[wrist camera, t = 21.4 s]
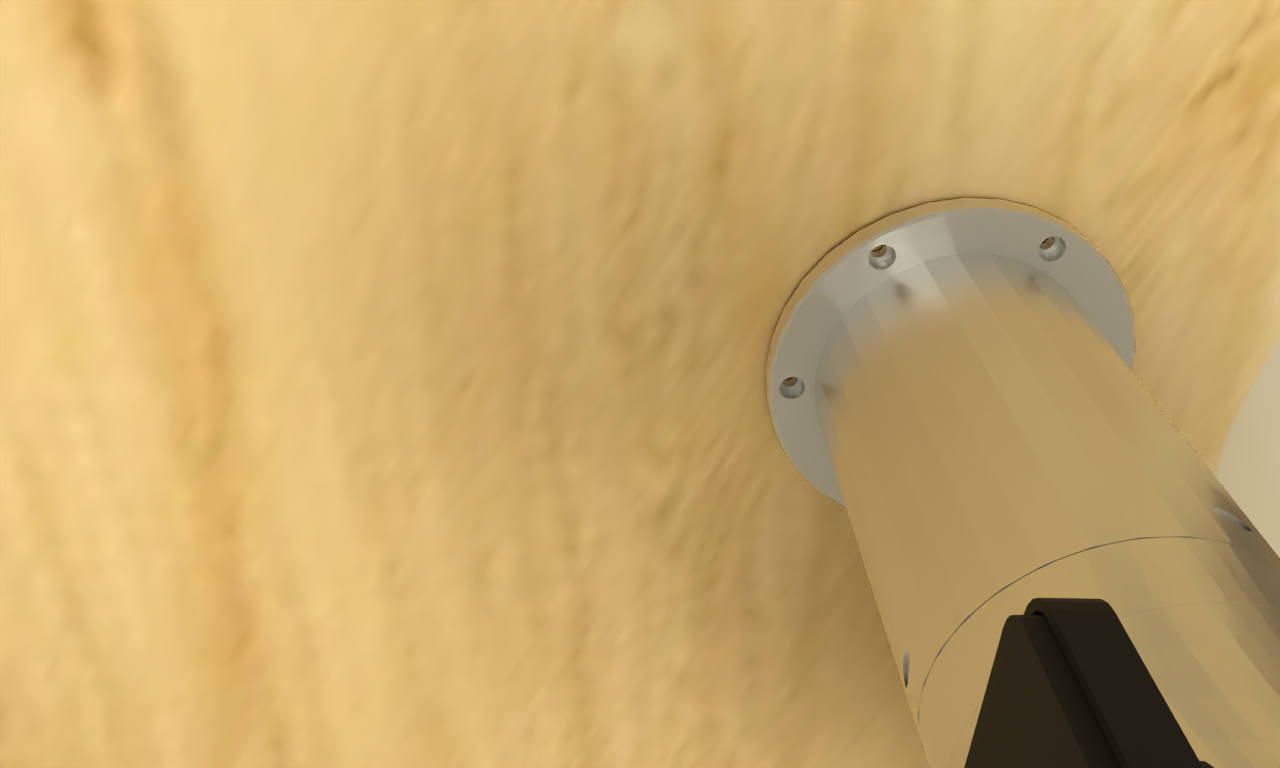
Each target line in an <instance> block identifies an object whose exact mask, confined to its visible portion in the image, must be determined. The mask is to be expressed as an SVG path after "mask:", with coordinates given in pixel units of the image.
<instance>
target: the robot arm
mask: <svg viewBox="0 0 1280 768" xmlns="http://www.w3.org/2000/svg"><path fill="white" fill-rule="evenodd" d="M1047 238H1049V239H1048V240H1047V241H1046V242H1045V243H1042V242H1043V241H1044V240H1045V239H1047ZM1041 243H1042V244H1041ZM880 245H884V246H883V248H882V249H881V250H880V251H877V252H872V250H873V249H874V248H875V247H877V246H880ZM1135 348H1136V344H1135V328H1134V316H1133V313H1132V309H1131V306H1130V303H1129V300H1128V296H1127V293H1126V290H1125V288H1124V286H1123V284H1122V283H1121V281H1120V279H1119V278H1118V276H1117V274H1116V273H1115V271H1114V269H1113V268H1112V266H1111V264H1110V263H1109V262H1108V261H1107V259H1106V258H1105V257H1104V256H1103V255H1102V254H1101V253H1100V252H1099V251H1098V249H1097V248H1096V247H1095V246H1094V245H1093V244H1092V243H1091V242H1090V241H1089V240H1088V239H1087V238H1086V237H1084V236H1083V235H1082V234H1080V233H1079V232H1078V231H1077V230H1075V229H1074V228H1073V227H1071V226H1070V225H1069V224H1068V223H1066V222H1065V221H1063V220H1061V219H1059V218H1057V217H1054V216H1052V215H1050V214H1048V213H1046V212H1044V211H1042V210H1040V209H1037V208H1035V207H1031V206H1027V205H1023V204H1019V203H1015V202H1010V201H1006V200H1002V199H982V198H960V199H952V200H945V201H938V202H930V203H926V204H922V205H919V206H916V207H913V208H910V209H907V210H903V211H900V212H897V213H894V214H891V215H889V216H887V217H885V218H883V219H881V220H879V221H877V222H875V223H873V224H871V225H869V226H868V227H866V228H864V229H862V230H860V231H858V232H856V233H855V234H854V235H852V236H851V237H850V238H848V239H847V240H846V241H844V242H843V243H841V244H840V245H839V246H837V247H836V248H835V249H833V250H832V251H831V252H829V253H828V254H827V255H826V256H825V257H824V258H823V259H822V260H821V261H820V262H819V263H818V264H817V265H816V266H815V267H814V269H813V270H812V271H811V272H810V273H809V274H808V275H807V276H806V277H805V278H804V279H803V280H802V282H801V283H800V285H799V286H798V288H797V289H796V291H795V292H794V294H793V295H792V297H791V298H790V300H789V301H788V303H787V304H786V306H785V307H784V309H783V312H782V314H781V317H780V319H779V321H778V324H777V326H776V329H775V331H774V334H773V336H772V338H771V344H770V349H769V354H768V360H767V365H766V392H767V401H768V405H769V409H770V414H771V418H772V423H773V426H774V429H775V431H776V434H777V436H778V439H779V441H780V444H781V446H782V449H783V451H784V452H785V454H786V455H787V457H788V458H789V460H790V461H791V463H792V464H793V465H794V467H795V468H796V470H797V471H798V473H799V474H800V475H801V476H802V477H804V478H805V479H806V480H807V481H808V482H809V483H810V484H811V485H812V486H813V487H814V488H815V489H816V490H818V491H819V492H820V493H822V494H823V495H825V496H827V497H828V498H830V499H831V500H833V501H835V502H836V503H838V504H840V505H841V506H843V507H845V508H846V509H847V512H848V516H849V519H850V522H851V525H852V528H853V531H854V534H855V538H856V541H857V544H858V547H859V550H860V553H861V556H862V560H863V563H864V566H865V569H866V572H867V575H868V578H869V581H870V585H871V588H872V591H873V594H874V597H875V600H876V603H877V607H878V610H879V613H880V616H881V619H882V622H883V625H884V629H885V632H886V635H887V638H888V641H889V644H890V647H891V651H892V654H893V657H894V660H895V663H896V666H897V669H898V673H899V676H900V679H901V682H902V685H903V688H904V691H905V695H906V698H907V701H908V704H909V707H910V710H911V713H912V716H913V720H914V723H915V726H916V729H917V732H918V735H919V738H920V742H921V745H922V747H923V749H924V751H925V754H926V757H927V761H928V764H929V767H930V768H1280V558H1279V557H1278V555H1277V554H1276V553H1275V552H1274V550H1273V549H1272V548H1271V547H1270V545H1269V544H1268V543H1267V542H1266V540H1265V539H1264V538H1263V537H1262V535H1261V534H1260V533H1259V532H1258V530H1257V529H1256V528H1255V527H1254V525H1253V524H1252V523H1251V521H1250V520H1249V519H1248V518H1247V516H1246V515H1245V514H1244V513H1243V511H1242V510H1241V509H1240V508H1239V506H1238V505H1237V504H1236V503H1235V501H1234V500H1233V499H1232V498H1231V496H1230V495H1229V494H1228V492H1227V491H1226V490H1225V489H1224V487H1223V486H1222V485H1221V484H1220V482H1219V481H1218V480H1217V479H1216V477H1215V476H1214V475H1213V474H1212V472H1211V471H1210V470H1209V468H1208V467H1207V466H1206V465H1205V463H1204V462H1203V461H1202V460H1201V458H1200V457H1199V456H1198V455H1197V453H1196V452H1195V451H1194V450H1193V448H1192V447H1191V446H1190V445H1189V443H1188V442H1187V441H1186V440H1185V438H1184V437H1183V436H1182V434H1181V433H1180V432H1179V431H1178V429H1177V428H1176V427H1175V426H1174V424H1173V423H1172V422H1171V421H1170V419H1169V418H1168V417H1167V416H1166V414H1165V413H1164V412H1163V411H1162V409H1161V408H1160V407H1159V405H1158V404H1157V403H1156V402H1155V400H1154V399H1153V398H1152V397H1151V395H1150V394H1149V393H1148V392H1147V390H1146V389H1145V388H1144V387H1143V385H1142V384H1141V383H1140V382H1139V380H1138V379H1137V378H1136V376H1135V375H1134V374H1133V373H1132V366H1133V360H1134V354H1135ZM790 377H793V378H792V379H789V380H785V379H787V378H790Z"/></svg>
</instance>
